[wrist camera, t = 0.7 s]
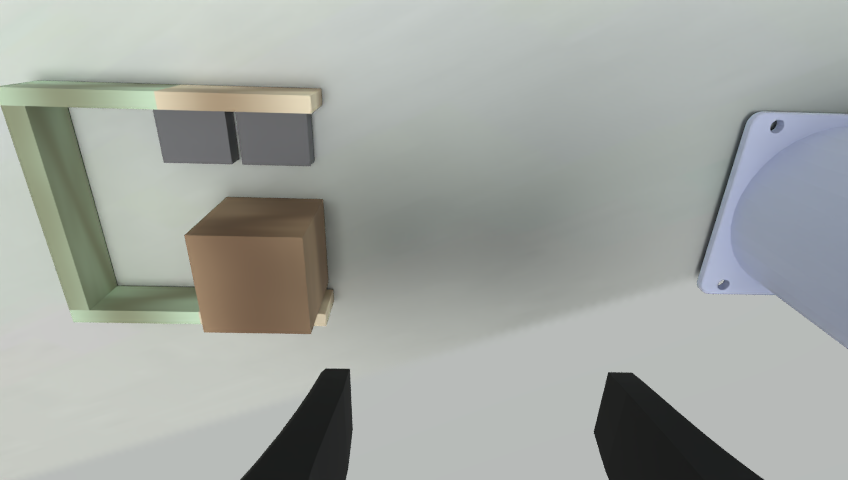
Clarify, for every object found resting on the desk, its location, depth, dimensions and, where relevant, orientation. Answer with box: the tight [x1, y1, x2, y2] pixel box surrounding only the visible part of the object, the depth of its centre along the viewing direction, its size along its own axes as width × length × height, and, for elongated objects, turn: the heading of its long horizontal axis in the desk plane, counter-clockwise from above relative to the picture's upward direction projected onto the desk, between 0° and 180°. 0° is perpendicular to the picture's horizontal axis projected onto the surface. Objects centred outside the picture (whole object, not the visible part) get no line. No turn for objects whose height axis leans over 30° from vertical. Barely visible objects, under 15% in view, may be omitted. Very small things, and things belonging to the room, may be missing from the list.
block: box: [184, 197, 328, 334], centre depth 19 cm, size 4×4×4 cm
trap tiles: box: [153, 109, 314, 166], centre depth 18 cm, size 6×2×1 cm, turn 88°
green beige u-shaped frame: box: [0, 81, 334, 326], centre depth 19 cm, size 10×9×2 cm
